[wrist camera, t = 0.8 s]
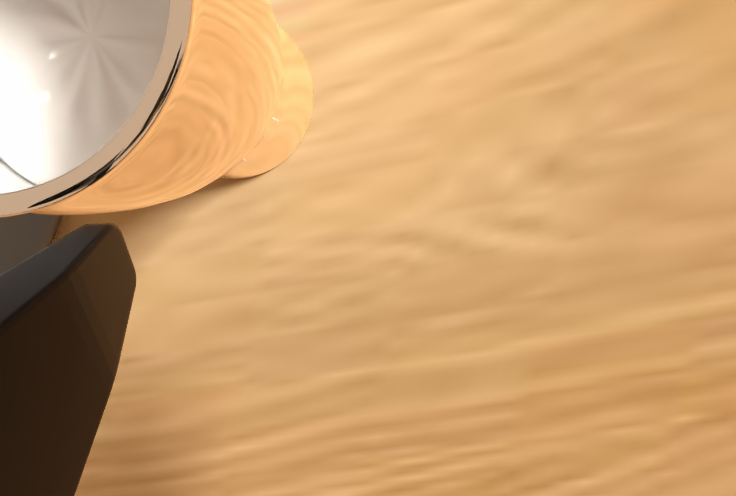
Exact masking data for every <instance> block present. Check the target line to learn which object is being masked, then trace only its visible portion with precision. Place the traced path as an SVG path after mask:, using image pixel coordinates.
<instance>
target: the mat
mask: <svg viewBox="0 0 736 496" xmlns="http://www.w3.org/2000/svg"><path fill="white" fill-rule="evenodd" d="M60 219H61V215H49V216H47V215H15V216H8V217H0V275H2V274H3V273H5V272H7V271H8V270H10V269H12V268H13V267H15V266H17V265H18V264H20V263H22V262H23V261H25V260H27V259H28V258H30V257H32V256H33V255H35V254H37V253H38V252H40V251H42V250H43V249H45V248H46V247H48V246H49V245H50V243H51V241H52V239H53V237H54V235H55V232H56V230H57V227H58V225H59V222H60Z"/></svg>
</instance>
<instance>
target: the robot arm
mask: <svg viewBox="0 0 736 496" xmlns="http://www.w3.org/2000/svg"><path fill="white" fill-rule="evenodd" d="M135 287H136V273H135V269H134V266H133V263H132V260H131V257H130V255H129V252H128V249H127V246H126V243H125V241H124V238H123V235H122V233H121V231H120V229H119V228H118V226H116V225H114V224H112V223H103V224H86V225H83V226H81V227H80V228H78V229H76V230H75V231H73V232H71V233H70V234H68V235H66V236H65V237H63V238H61V239H60V240H58V241H56V242H55V243H53V244H51V245H50V246H48V247H46V248H45V249H43V250H42V251H40V252H38V253H37V254H35V255H33V256H32V257H30V258H28V259H27V260H25V261H23V262H22V263H20V264H18V265H17V266H15V267H13V268H12V269H10V270H8V271H7V272H5V273H3V274H2V275H0V496H74V495H75V492H76V489H77V486H78V484H79V481H80V478H81V475H82V472H83V469H84V467H85V464H86V461H87V458H88V455H89V452H90V449H91V447H92V444H93V441H94V438H95V435H96V432H97V430H98V427H99V424H100V421H101V418H102V415H103V412H104V410H105V407H106V404H107V401H108V398H109V395H110V392H111V389H112V386H113V383H114V380H115V376H116V372H117V368H118V364H119V360H120V356H121V351H122V346H123V342H124V337H125V333H126V328H127V324H128V319H129V315H130V310H131V306H132V301H133V297H134V292H135Z"/></svg>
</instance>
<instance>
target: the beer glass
mask: <svg viewBox="0 0 736 496" xmlns="http://www.w3.org/2000/svg"><path fill="white" fill-rule="evenodd" d="M312 109H313V83H312V77H311V73H310V69H309V66H308V64H307V61H306V59H305V57H304V55H303V53H302V52H301V50H300V48H299V47H298V45H297V44H296V43H295V41H294V40H293V39H292V38H291V37H290V36H289V35H288V34H287V33H286V32H285V31H284V30H283V29H282V28H281V27H279V26H278V25H277V21H276V18H275V14H274V11H273V7H272V4H271V1H270V0H0V217H8V216H15V215H47V216H49V215H90V214H100V213H110V212H120V211H128V210H135V209H140V208H144V207H148V206H152V205H156V204H160V203H164V202H167V201H171V200H175V199H178V198H181V197H183V196H186V195H188V194H191V193H193V192H195V191H197V190H199V189H201V188H203V187H204V186H206V185H208V184H210V183H211V182H213V181H215V180H216V179H218V178H229V179H240V178H248V177H253V176H256V175H259V174H262V173H265V172H267V171H269V170H271V169H273V168H274V167H276V166H278V165H279V164H280V163H282V162H283V161H284V160H285V159H286V158H288V157H289V156H290V155H291V154H292V152H293V151H294V150H295V149H296V148H297V146H298V145H299V143H300V142H301V140H302V139H303V137H304V135H305V133H306V131H307V129H308V126H309V123H310V120H311V115H312Z"/></svg>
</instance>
